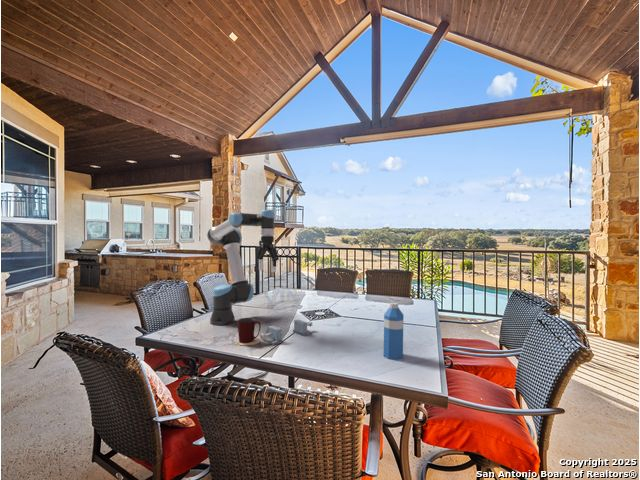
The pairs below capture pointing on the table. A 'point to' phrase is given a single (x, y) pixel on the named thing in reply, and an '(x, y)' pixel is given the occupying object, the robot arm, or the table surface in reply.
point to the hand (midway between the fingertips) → (267, 271)
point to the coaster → (250, 342)
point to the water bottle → (393, 332)
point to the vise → (275, 332)
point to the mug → (247, 329)
